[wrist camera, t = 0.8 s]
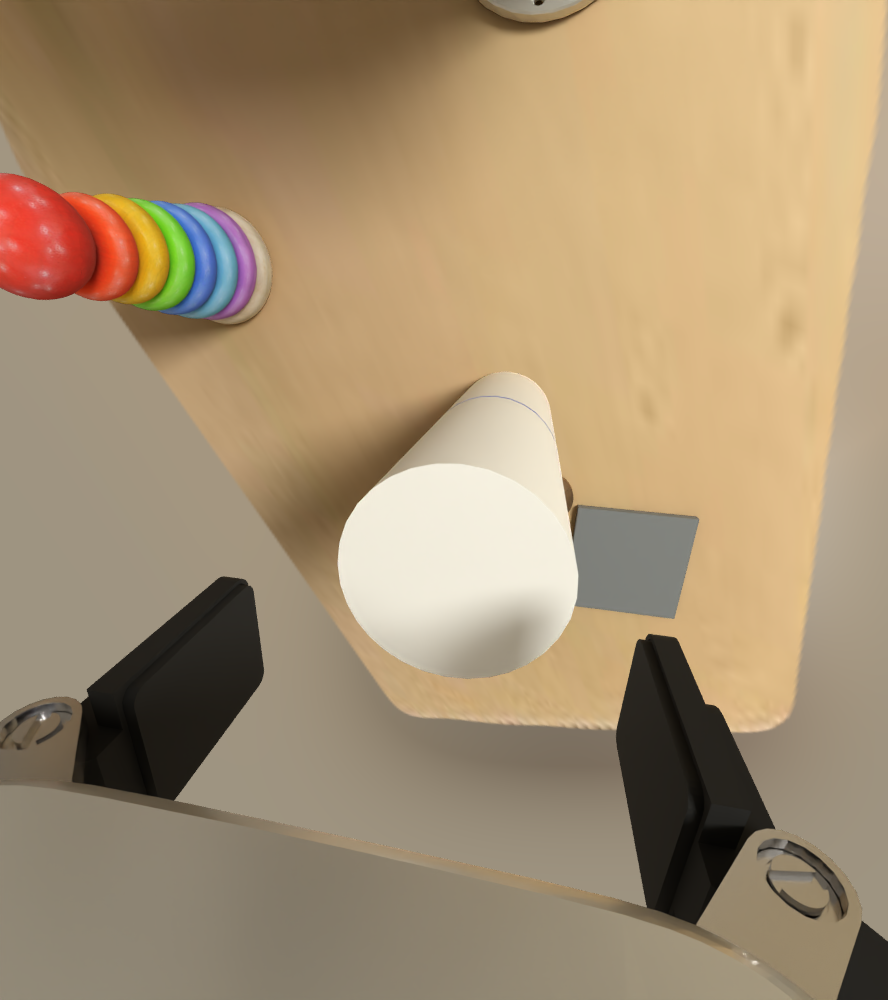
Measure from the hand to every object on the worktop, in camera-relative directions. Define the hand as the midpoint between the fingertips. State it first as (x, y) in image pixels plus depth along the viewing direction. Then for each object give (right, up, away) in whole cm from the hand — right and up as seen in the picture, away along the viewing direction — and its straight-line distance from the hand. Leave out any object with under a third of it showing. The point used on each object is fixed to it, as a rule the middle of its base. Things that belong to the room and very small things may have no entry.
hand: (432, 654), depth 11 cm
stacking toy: (-16, +22, +26) cm, 37 cm away
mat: (+15, -1, +28) cm, 32 cm away
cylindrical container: (+5, +10, +26) cm, 28 cm away
